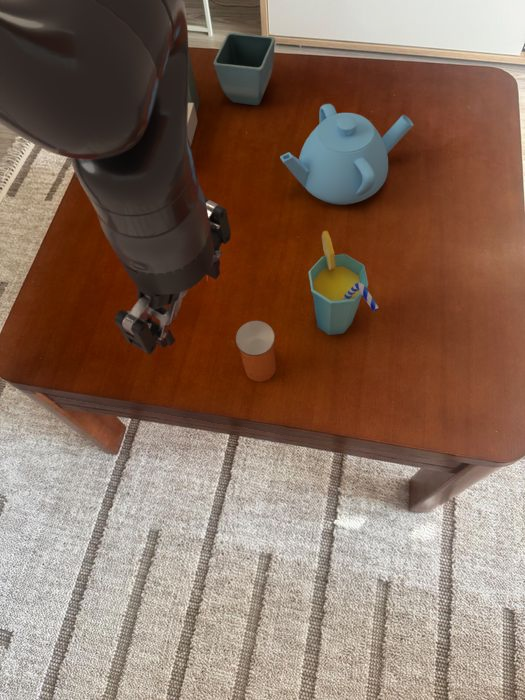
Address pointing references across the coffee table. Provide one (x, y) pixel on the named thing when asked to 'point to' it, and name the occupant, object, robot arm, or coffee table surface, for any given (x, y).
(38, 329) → the coffee table surface
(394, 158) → the coffee table surface
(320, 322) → the cup
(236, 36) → the flower pot
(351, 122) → the teapot
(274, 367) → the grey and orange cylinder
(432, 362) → the coffee table surface
